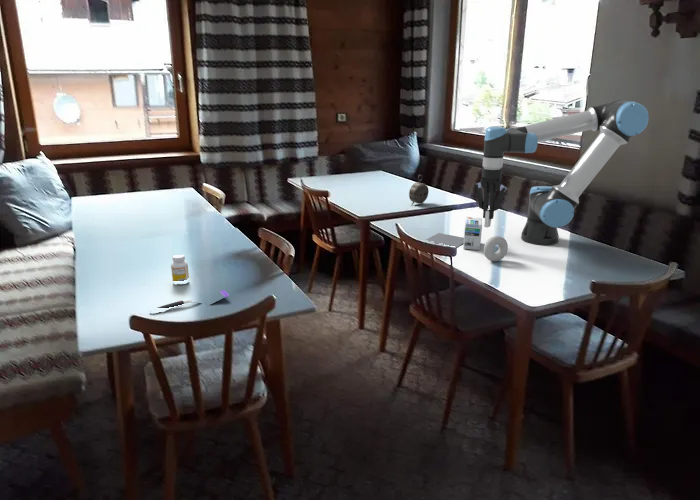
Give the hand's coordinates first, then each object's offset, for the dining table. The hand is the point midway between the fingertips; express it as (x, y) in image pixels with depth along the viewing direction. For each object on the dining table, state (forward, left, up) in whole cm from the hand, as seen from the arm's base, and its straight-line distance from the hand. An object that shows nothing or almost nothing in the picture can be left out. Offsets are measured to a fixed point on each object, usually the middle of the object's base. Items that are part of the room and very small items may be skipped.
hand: (487, 226), depth 223 cm
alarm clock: (+58, -49, -10) cm, 77 cm away
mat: (+18, 0, -10) cm, 20 cm away
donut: (-9, +12, -10) cm, 18 cm away
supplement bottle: (+70, +96, -10) cm, 119 cm away
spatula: (+53, +106, -10) cm, 119 cm away
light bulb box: (+6, 0, -10) cm, 11 cm away
